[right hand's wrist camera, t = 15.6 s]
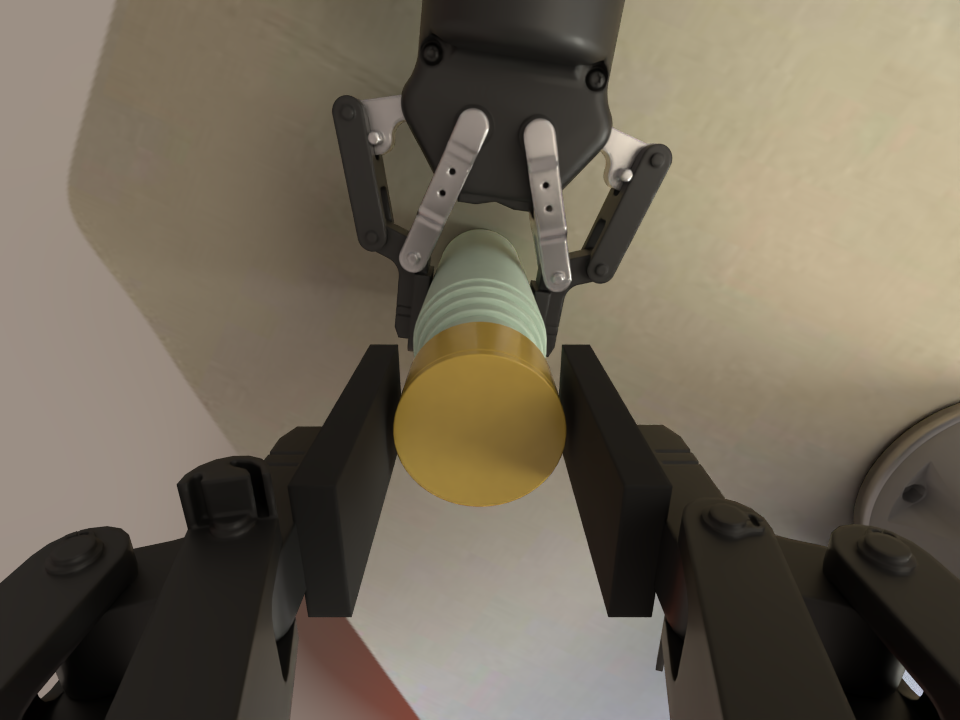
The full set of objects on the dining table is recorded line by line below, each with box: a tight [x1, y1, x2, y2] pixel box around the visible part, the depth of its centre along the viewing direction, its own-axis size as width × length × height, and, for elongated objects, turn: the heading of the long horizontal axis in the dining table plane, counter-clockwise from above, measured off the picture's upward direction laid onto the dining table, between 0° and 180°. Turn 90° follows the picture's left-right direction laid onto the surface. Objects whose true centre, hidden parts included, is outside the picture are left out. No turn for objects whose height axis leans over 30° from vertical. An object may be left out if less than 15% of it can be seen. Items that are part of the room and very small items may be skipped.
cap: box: [393, 322, 567, 507], centre depth 13 cm, size 4×4×2 cm
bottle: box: [413, 229, 547, 358], centre depth 21 cm, size 5×5×18 cm
